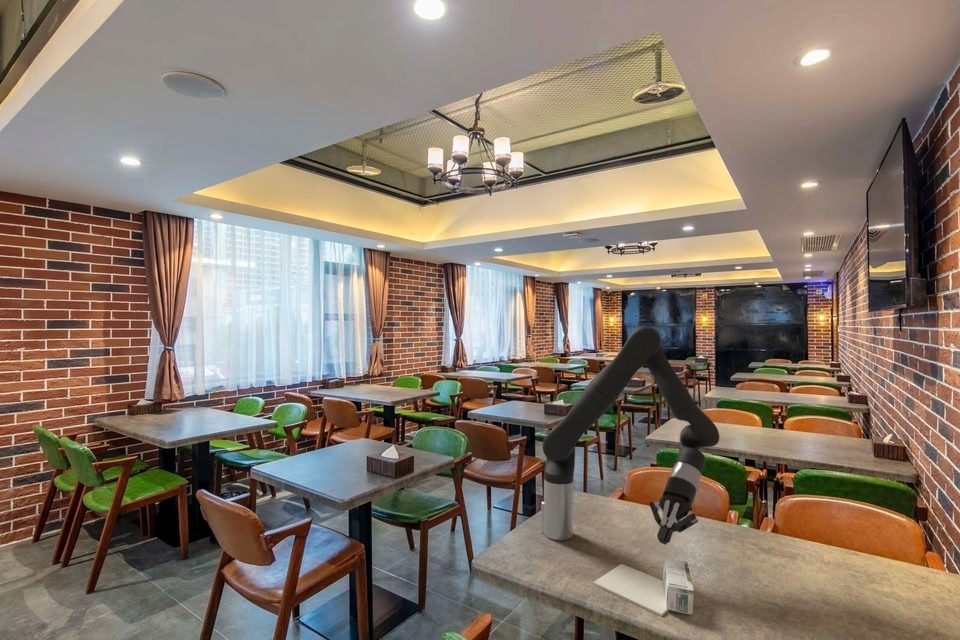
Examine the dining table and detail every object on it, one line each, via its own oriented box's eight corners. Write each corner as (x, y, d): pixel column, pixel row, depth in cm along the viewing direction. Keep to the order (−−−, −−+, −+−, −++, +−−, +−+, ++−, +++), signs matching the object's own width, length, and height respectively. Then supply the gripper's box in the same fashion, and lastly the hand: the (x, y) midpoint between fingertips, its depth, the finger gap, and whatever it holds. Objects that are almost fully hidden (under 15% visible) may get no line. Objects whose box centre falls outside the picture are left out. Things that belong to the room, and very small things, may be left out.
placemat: (593, 584, 118) (593, 582, 118) (621, 566, 127) (621, 563, 127) (661, 616, 104) (661, 614, 104) (687, 593, 114) (687, 591, 114)
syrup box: (686, 583, 118) (694, 616, 104) (661, 578, 120) (666, 610, 106) (687, 560, 118) (695, 590, 104) (662, 556, 120) (667, 585, 106)
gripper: (655, 470, 130) (633, 526, 121) (703, 482, 120) (683, 543, 111) (663, 485, 133) (642, 541, 124) (711, 497, 124) (692, 559, 115)
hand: (662, 542), depth 118 cm, fingers closed
